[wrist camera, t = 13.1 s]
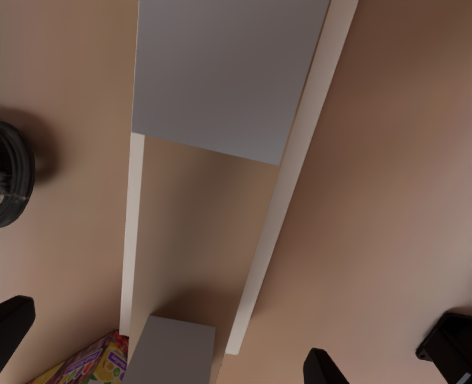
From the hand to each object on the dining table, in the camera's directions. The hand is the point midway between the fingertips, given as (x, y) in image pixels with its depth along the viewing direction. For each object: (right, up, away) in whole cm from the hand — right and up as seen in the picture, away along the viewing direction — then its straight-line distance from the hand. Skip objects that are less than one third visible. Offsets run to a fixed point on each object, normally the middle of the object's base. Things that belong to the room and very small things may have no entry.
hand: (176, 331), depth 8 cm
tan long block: (0, +4, +9) cm, 10 cm away
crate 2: (+2, +9, +2) cm, 9 cm away
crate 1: (-2, -5, +7) cm, 9 cm away
